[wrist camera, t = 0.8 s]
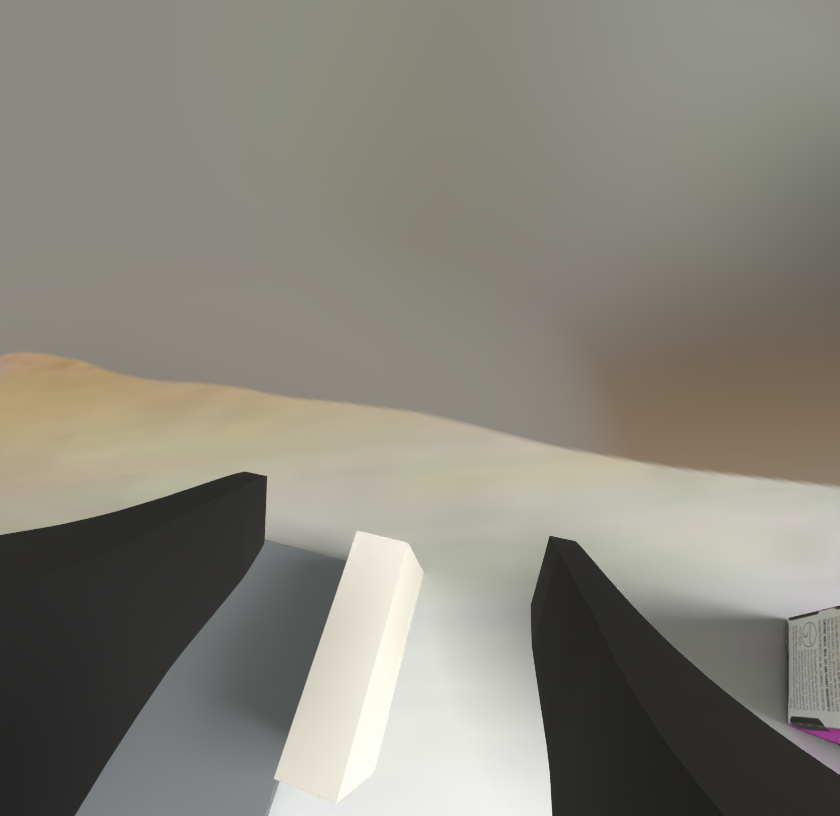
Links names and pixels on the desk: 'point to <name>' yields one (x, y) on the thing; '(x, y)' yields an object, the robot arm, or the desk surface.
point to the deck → (353, 671)
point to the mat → (226, 699)
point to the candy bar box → (814, 673)
